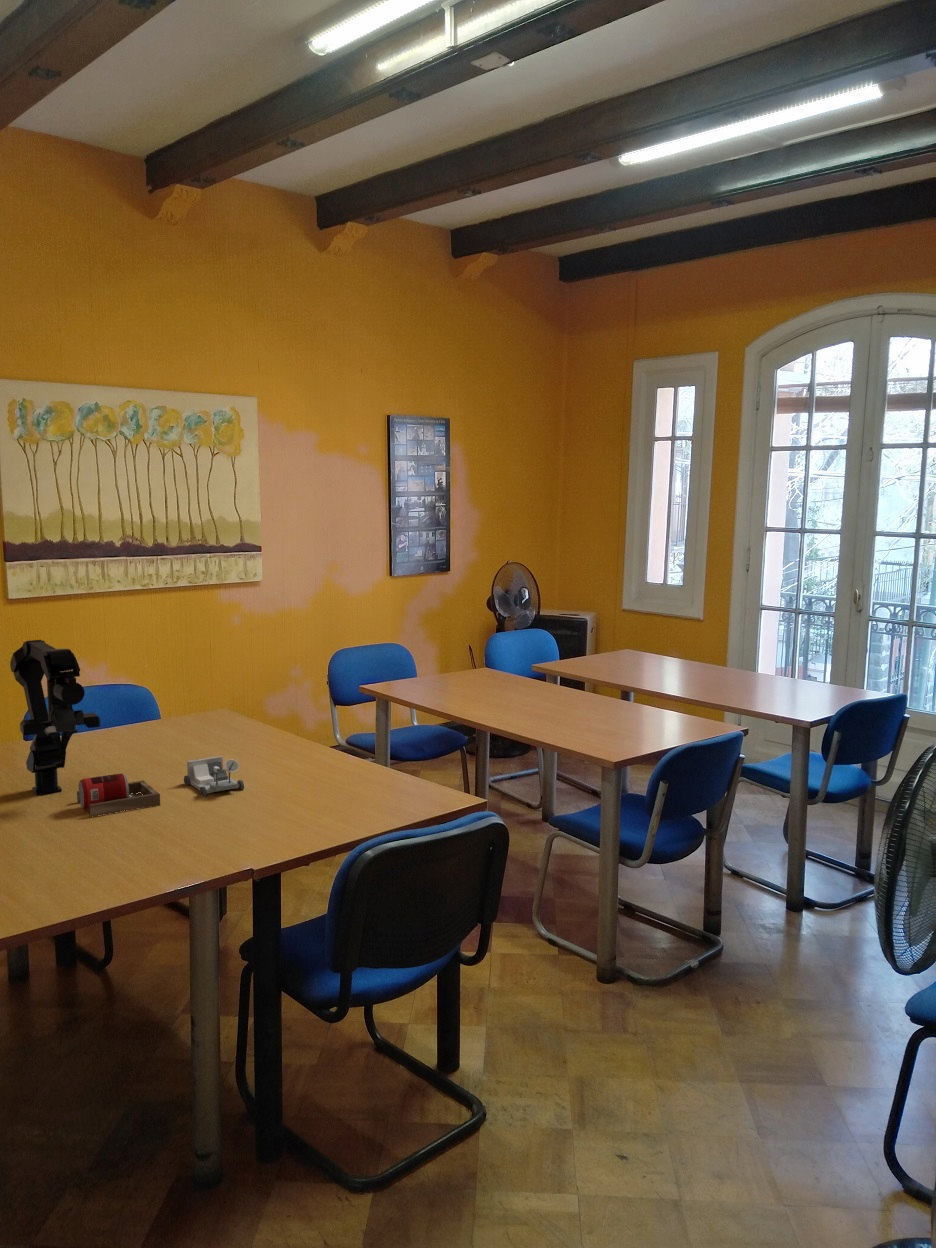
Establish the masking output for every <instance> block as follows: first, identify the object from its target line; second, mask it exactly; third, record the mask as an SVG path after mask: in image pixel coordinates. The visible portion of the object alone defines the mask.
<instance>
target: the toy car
mask: <svg viewBox="0 0 936 1248" xmlns="http://www.w3.org/2000/svg"><path fill="white" fill-rule="evenodd" d="M223 760H224V759H223V756H222V755H220V756H219V755H218V756H212V757H206V758H200V759H193V760H187V762H186V767H187V768H186V770H187V771H186V772H187V774H186V775H185V776H184V777H183V784H184V783H185V784H186V785H185V784H184V785H185V786H187V785H189V786H190V785H192V786H193V787H194V788H196V789H197V790H199V796H201V795H202V796H203V797H202V796H201V797H202V798H206V797H207V794H211V793H215V792H216V793H217V792H222V791H226V790H227V791H228V790H232V789H238V788H239V789H238V790H240V789H241V790H240V791H244V790H243V789H245V783H244V781H243V780H242V779H240V780H237V781H235V780H234V779H232V778H231V773H234V772H237V771H238V770H239V769H240V764H239V762H238V761H237V760H235V759H232V758H228V759H227V760H226V761H224V765H223ZM227 773H228V774H227ZM205 796H206V797H205Z"/></svg>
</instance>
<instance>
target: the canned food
mask: <svg viewBox="0 0 936 1248" xmlns="http://www.w3.org/2000/svg"><path fill="white" fill-rule="evenodd" d="M128 783H129V781H128V776H127V774H125V772H123V773H116V774H115V773H114V774H107V775H102V776H101V775H100V776H94V777H86V778H82V779H81V780H79V782H78V791H79V799H80V803H79V804H80V807H81V809H82V810H89V804H94V803H100V802H106V801H112V800H118V799H124V798H129V787H128Z"/></svg>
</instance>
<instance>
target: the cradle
mask: <svg viewBox="0 0 936 1248" xmlns="http://www.w3.org/2000/svg"><path fill="white" fill-rule="evenodd" d="M128 787H129V794H131V793H138V792H141V793H142V794H143V795H142V794H141V793H140V794H141V795H140V796H136V797H130V798H124V799H118V800H112V801H106V802H100V803H94V804H89V809H90V810H89V809H88V810H89V817H90V816H91V817H90V818H93V817H92V816H96V817H99V816H98V815H102V816H104V815H103V814H107V815H110V814H109V813H113V814H116V813H115V812H118V813H121V812H120V811H124V810H125V811H124V812H127V811H126V810H130V811H132V810H131V809H135V810H138V809H137V808H141V809H144V808H143V807H147V808H151V807H150V806H152V807H157V806H156V805H158V806H161V794H160V793H159V792H158V791H157V790H156V789H154V787H152V786H151V785H150V784H149V783H148V782H146V781H145V780H143V779H142V780H137V781H133V782H132V781H131V782H128ZM138 794H139V793H138ZM76 801H77V803H78V804H80V799H79V790H76Z"/></svg>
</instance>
